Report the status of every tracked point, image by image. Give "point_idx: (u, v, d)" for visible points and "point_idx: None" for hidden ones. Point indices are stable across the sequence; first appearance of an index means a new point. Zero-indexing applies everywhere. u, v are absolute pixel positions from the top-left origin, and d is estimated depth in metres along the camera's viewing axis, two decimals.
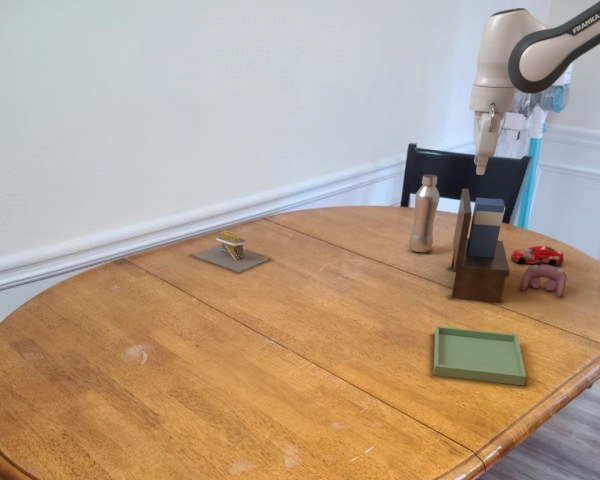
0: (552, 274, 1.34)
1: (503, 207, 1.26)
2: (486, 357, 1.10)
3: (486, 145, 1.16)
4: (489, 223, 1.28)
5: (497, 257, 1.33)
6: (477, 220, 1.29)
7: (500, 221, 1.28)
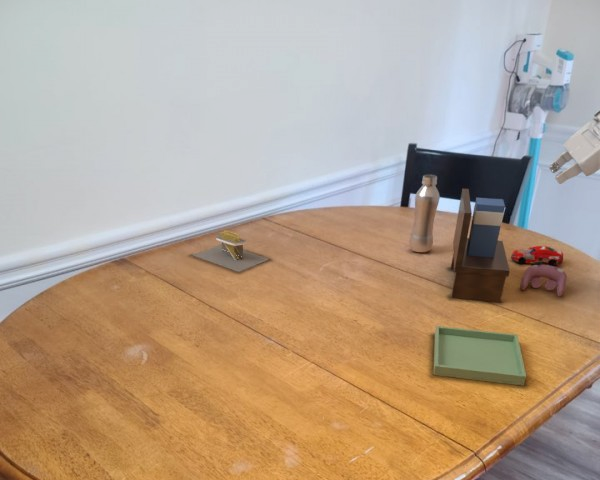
0: (552, 274, 1.34)
1: (503, 207, 1.26)
2: (486, 357, 1.10)
3: (592, 162, 1.11)
4: (489, 223, 1.28)
5: (497, 257, 1.33)
6: (477, 220, 1.29)
7: (500, 221, 1.28)
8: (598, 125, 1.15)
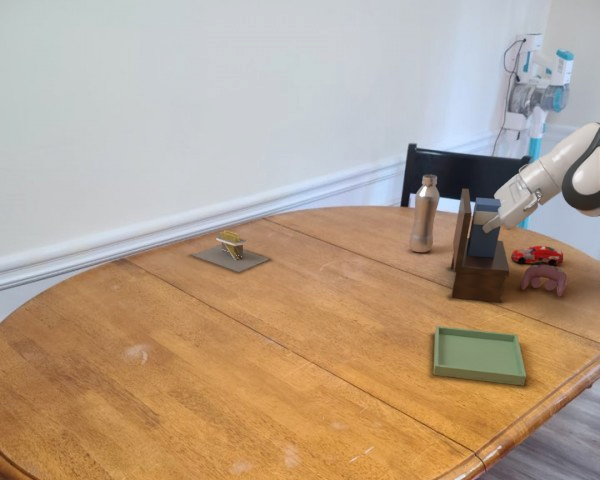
0: (552, 274, 1.34)
1: None
2: (486, 357, 1.10)
3: (512, 218, 1.20)
4: None
5: (497, 257, 1.33)
6: (476, 220, 1.29)
7: None
8: (520, 181, 1.24)
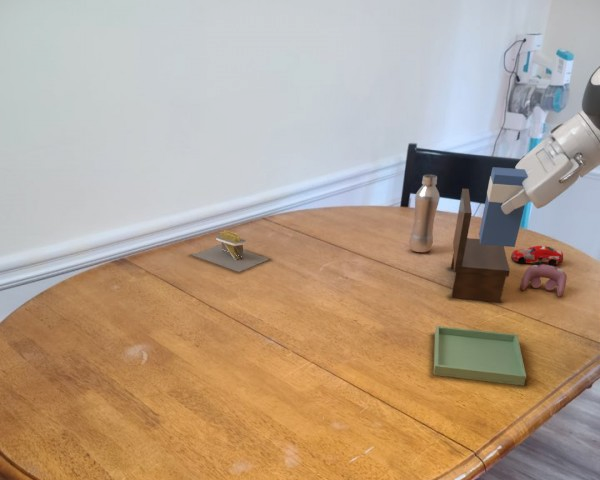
0: (552, 274, 1.34)
1: None
2: (486, 357, 1.10)
3: (544, 192, 0.88)
4: None
5: (497, 257, 1.33)
6: (493, 196, 0.97)
7: None
8: (553, 144, 0.92)
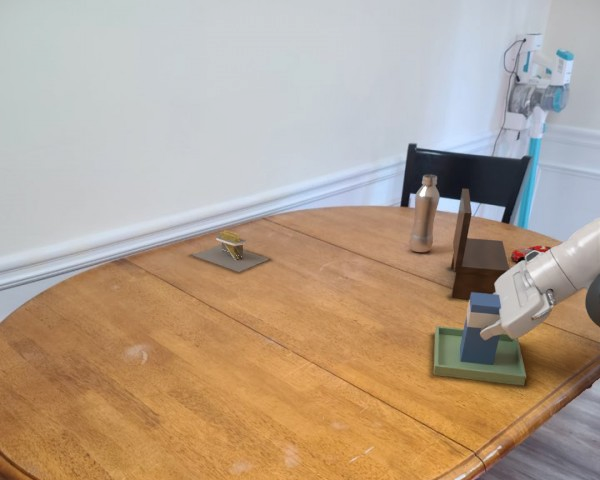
0: None
1: None
2: None
3: (517, 327, 0.95)
4: None
5: (497, 257, 1.33)
6: (471, 322, 1.03)
7: None
8: (527, 277, 0.99)
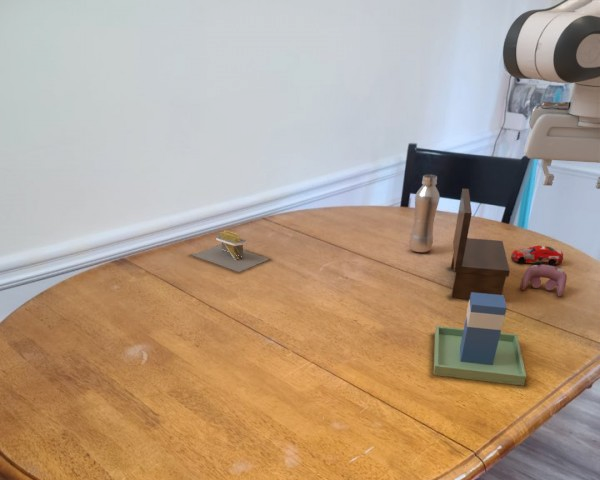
0: (552, 274, 1.34)
1: (504, 309, 1.01)
2: None
3: (526, 143, 1.03)
4: (487, 327, 1.03)
5: (497, 257, 1.33)
6: (471, 322, 1.03)
7: (500, 325, 1.02)
8: None
